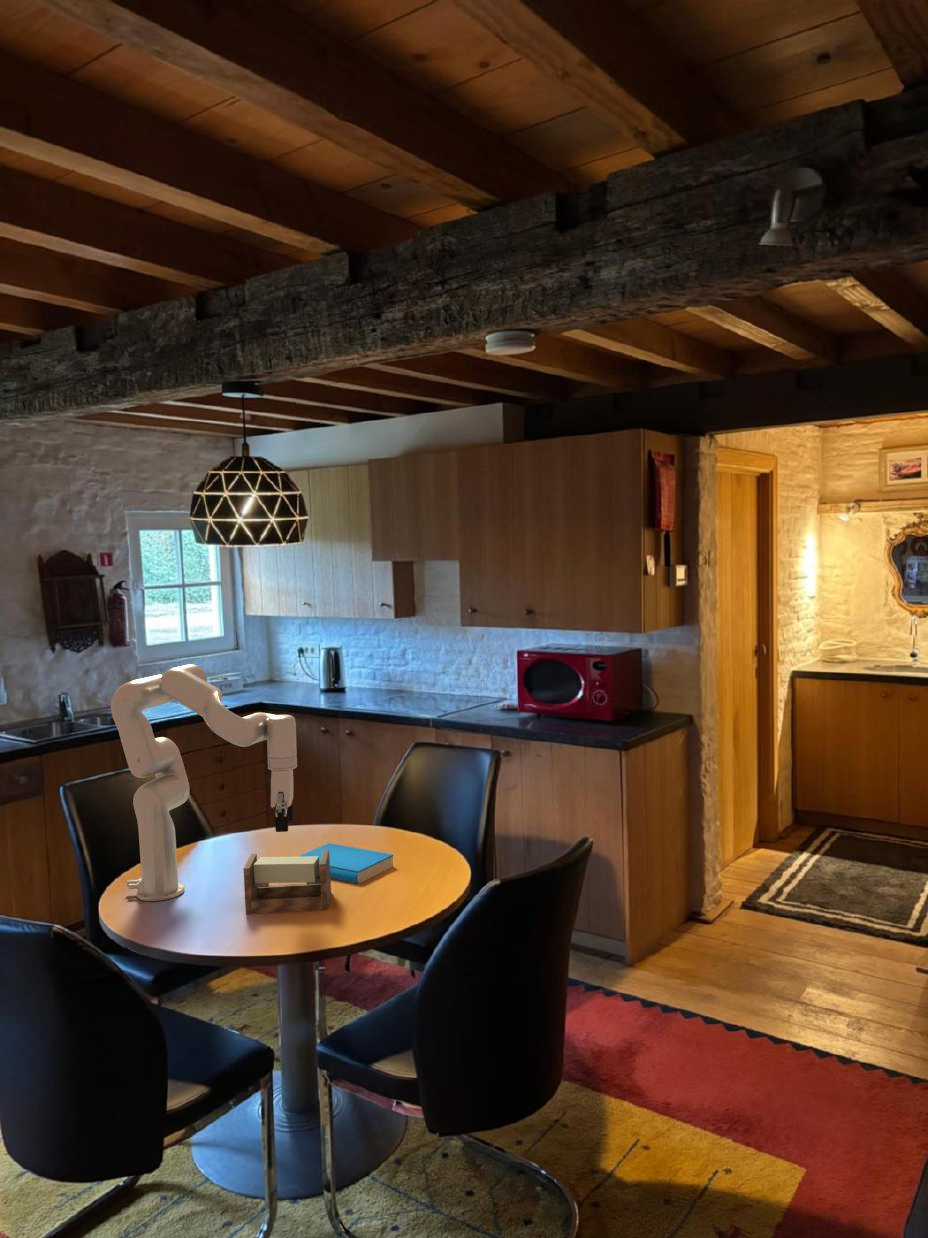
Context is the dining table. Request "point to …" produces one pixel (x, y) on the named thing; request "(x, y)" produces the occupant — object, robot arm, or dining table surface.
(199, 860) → the dining table surface
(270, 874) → the pale green block
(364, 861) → the book
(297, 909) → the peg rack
